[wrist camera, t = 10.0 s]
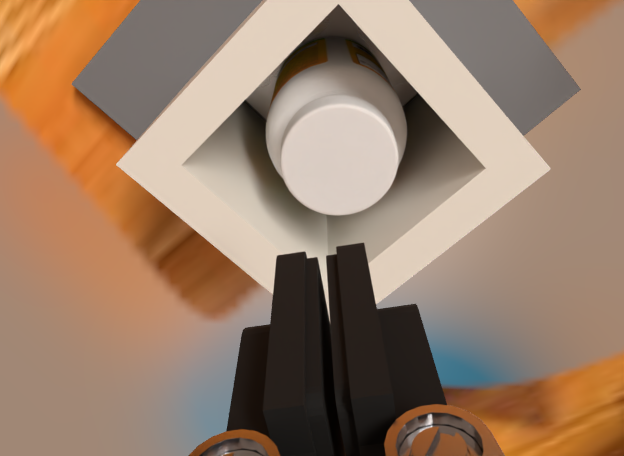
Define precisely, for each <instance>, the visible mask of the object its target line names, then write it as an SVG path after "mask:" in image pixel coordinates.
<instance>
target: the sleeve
mask: <svg viewBox="0 0 624 456" xmlns="http://www.w3.org/2000/svg"><path fill="white" fill-rule="evenodd" d="M338 4H339V5H340V6H341V7H342V8H343V9H344V11H345V12H346V13H347V14H348V15H349V16H350V17H351V18H352V20H353V21H354V22H355V23H356V24H357V25H358V26H359V27H360V28H361V30H362V31H363V32H364V33H365V34H366V35H367V36H368V37H369V38H370V40H371V41H372V42H373V43H374V44H375V45H376V46H377V47H378V48H379V50H380V51H381V52H382V53H383V54H384V55H385V56H386V57H387V59H388V60H389V61H390V62H391V63H392V64H393V65H394V66H395V67H396V69H397V70H398V71H399V72H400V73H401V74H402V75H403V76H404V77H405V79H406V80H407V81H408V82H409V83H410V84H411V85H412V86H413V88H414V89H415V90H416V91H417V92H418V93H419V94H418V95H417V96H416V97H415V98H414V99H412V100H411V101H410V102H409V103H408V104H407V105H406V106H405V107H404V108H403V111H404V114H405V118H406V123H407V141H406V147H405V151H404V154H403V157H402V160H401V162H400V164H399V166H398V169H397V173H396V176H395V178H394V181H393V183H392V185H391V187H390V188H389V190H388V191H387V192H386V194H385V195H384V196H383V197H382V198H381V199H380V200H379V201H377V202H376V203H375V204H374V205H372V206H371V207H369V208H367V209H365V210H363V211H360V212H357V213H354V214H350V215H340V216H337V215H327V214H322V213H319V212H316V211H314V210H311V209H309V208H308V207H306V206H305V205H303V204H302V203H301V202H299V201H298V200H297V199H296V198H295V197H294V196H293V195H292V193H291V192H290V191H289V189H288V187H287V186H286V184H285V182H284V179H283V178H282V177H281V176H280V175H279V173H278V172H277V170H276V168H275V167H274V165H273V162H272V160H271V158H270V155H269V152H268V148H267V143H266V122H265V121H264V120H263V119H262V118H261V117H260V116H258V115H257V114H256V113H255V112H254V111H253V110H252V109H251V108H250V107H249V106H248V105H247V104H246V103H245V102H244V100H245V99H246V98H247V97H248V96H249V95H250V94H251V93H252V92H253V91H254V90H255V89H256V88H257V87H258V86H259V85H260V84H261V83H262V82H263V81H264V80H265V79H266V78H267V77H268V76H269V75H270V74H271V73H272V72H273V71H274V70H275V69H276V68H277V67H278V65H279V64H280V63H281V62H282V61H283V60H284V59H285V58H286V57H287V56H288V55H289V54H290V53H291V52H292V51H293V50H294V49H295V48H296V47H297V46H298V45H299V44H300V43H301V42H302V41H303V40H304V39H305V38H306V37H307V36H308V35H309V34H310V33H311V32H312V31H313V30H314V29H315V28H316V26H317V25H318V24H319V23H320V22H321V21H322V20H323V19H324V18H325V17H326V16H327V15H328V14H329V13H330V12H331V11H332V10H333V9H334V8H335V7H336V6H337V5H338ZM116 165H117V166H118V167H119V168H121V169H122V170H123V171H124V172H125V173H127V174H128V175H129V176H130V177H131V178H133V179H134V180H135V181H136V182H137V183H139V184H140V185H141V186H142V187H144V188H145V189H146V190H147V191H148V192H150V193H151V194H152V195H153V196H154V197H156V198H157V199H158V200H159V201H160V202H162V203H163V204H164V205H165V206H166V207H168V208H169V209H170V210H171V211H172V212H174V213H175V214H176V215H177V216H178V217H180V218H181V219H182V220H183V221H184V222H186V223H187V224H188V225H189V226H190V227H192V228H193V229H194V230H195V231H196V232H198V233H199V234H200V235H201V236H203V237H204V238H205V239H206V240H207V241H209V242H210V243H211V244H212V245H213V246H215V247H216V248H217V249H218V250H219V251H221V252H222V253H223V254H224V255H225V256H227V257H228V258H229V259H230V260H231V261H233V262H234V263H235V264H236V265H237V266H239V267H240V268H241V269H242V270H243V271H245V272H246V273H247V274H248V275H249V276H251V277H252V278H253V279H254V280H256V281H257V282H258V283H259V284H260V285H262V286H263V287H264V288H265V289H266V290H268V291H269V292H270V293H271V294H272V295H273V290H274V278H275V267H276V257H277V255H283V254H290V253H297V252H303V251H305V252H306V255H307V258H314V257H317V258H318V262H319V267H320V272H321V278H322V283H323V288H324V294H325V299H326V304H327V310H328V315H329V320H330V312H329V296H328V281H327V265H326V256H327V255H334V254H337V252H336V247H337V246H343V245H350V244H357V243H364V244H365V249H366V255H367V260H368V265H369V270H370V276H371V281H372V286H373V291H374V297H375V302H376V304H377V303H379V302H380V301H381V300H383V299H384V298H385V297H386V296H388V295H389V294H390V293H392V292H393V291H394V290H395V289H397V288H398V287H399V286H400V285H402V284H403V283H405V282H406V281H407V280H408V279H410V278H411V277H412V276H414V275H415V274H416V273H417V272H419V271H420V270H421V269H423V268H424V267H425V266H426V265H428V264H429V263H430V262H432V261H433V260H434V259H435V258H437V257H438V256H439V255H441V254H442V253H443V252H444V251H446V250H447V249H448V248H450V247H451V246H452V245H454V244H455V243H456V242H457V241H459V240H460V239H461V238H463V237H464V236H465V235H466V234H468V233H469V232H470V231H472V230H473V229H474V228H475V227H477V226H478V225H479V224H481V223H482V222H483V221H485V220H486V219H487V218H488V217H489V216H491V215H492V214H494V213H495V212H496V211H497V210H498V209H500V208H501V207H503V206H504V205H505V204H506V203H508V202H509V201H510V200H511V199H513V198H514V197H516V196H517V195H518V194H519V193H521V192H522V191H523V190H524V189H526V188H527V187H528V186H530V185H531V184H532V183H534V182H535V181H536V180H537V179H538V178H540V177H541V176H543V175H544V174H545V173H546V172H548V171H549V170H550V169H551V168H550V167H549V166H548V165H547V164H546V162H545V161H544V160H543V159H542V158H541V156H540V155H539V154H538V153H537V152H536V151H535V149H534V148H533V147H532V146H531V145H530V143H529V142H528V141H527V140H526V139H525V137H524V136H523V135H522V134H521V133H520V131H519V130H518V129H517V128H516V127H515V126H514V124H513V123H512V122H511V121H510V120H509V118H508V117H507V116H506V115H505V114H504V112H503V111H502V110H501V109H500V108H499V107H498V105H497V104H496V103H495V102H494V101H493V99H492V98H491V97H490V96H489V95H488V93H487V92H486V91H485V90H484V89H483V88H482V86H481V85H480V84H479V83H478V82H477V80H476V79H475V78H474V77H473V76H472V74H471V73H470V72H469V71H468V70H467V69H466V67H465V66H464V65H463V64H462V63H461V61H460V60H459V59H458V58H457V57H456V56H455V54H454V53H453V52H452V51H451V50H450V48H449V47H448V46H447V45H446V44H445V42H444V41H443V40H442V39H441V38H440V37H439V35H438V34H437V33H436V32H435V31H434V29H433V28H432V27H431V26H430V25H429V23H428V22H427V21H426V20H425V19H424V18H423V16H422V15H421V14H420V13H419V12H418V10H417V9H416V8H415V7H414V6H413V4H412V3H411V2H410V1H409V0H262V1H261V3H260V4H259V5H258V6H257V7H256V8H255V9H254V10H253V11H252V12H251V13H250V15H249V16H248V17H247V18H246V19H245V20H244V21H243V22H242V23H241V24H240V25H239V27H238V28H237V29H236V30H235V31H234V32H233V33H232V34H231V35H230V36H229V38H228V39H227V40H226V41H225V42H224V43H223V44H222V45H221V46H220V47H219V48H218V50H217V51H216V52H215V53H214V54H213V55H212V56H211V57H210V58H209V59H208V60H207V62H206V63H205V64H204V65H203V66H202V67H201V68H200V69H199V70H198V71H197V72H196V74H195V75H194V76H193V77H192V78H191V79H190V80H189V81H188V82H187V83H186V84H185V86H184V87H183V88H182V89H181V90H180V91H179V93H178V94H177V95H176V96H175V97H174V98H173V99H172V101H171V102H170V103H169V104H168V105H167V106H166V107H165V109H164V110H163V111H162V112H161V113H160V114H159V116H158V117H157V118H156V119H155V120H154V121H153V122H152V124H151V125H150V126H149V127H148V128H147V129H146V130H145V132H144V133H143V134H142V135H141V136H140V137H139V139H138V140H137V141H136V142H135V143H134V144H133V145H132V147H131V148H130V149H129V150H128V151H127V152H126V154H125V155H124V156H123V157H122V158H121V159H120V160H119V162H118V163H117V164H116Z"/></svg>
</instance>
